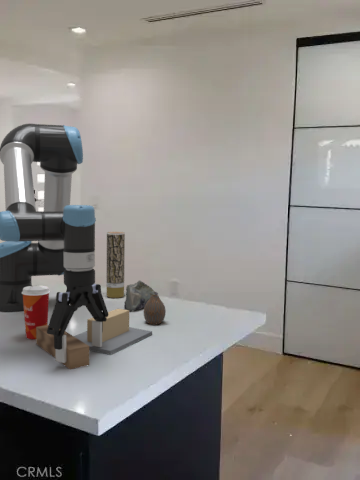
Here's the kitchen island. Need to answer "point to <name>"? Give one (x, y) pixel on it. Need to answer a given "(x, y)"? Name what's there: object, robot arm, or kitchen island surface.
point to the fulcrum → (114, 333)
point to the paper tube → (115, 264)
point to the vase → (154, 310)
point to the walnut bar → (74, 348)
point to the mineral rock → (138, 295)
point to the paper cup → (35, 308)
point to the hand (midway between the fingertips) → (79, 353)
